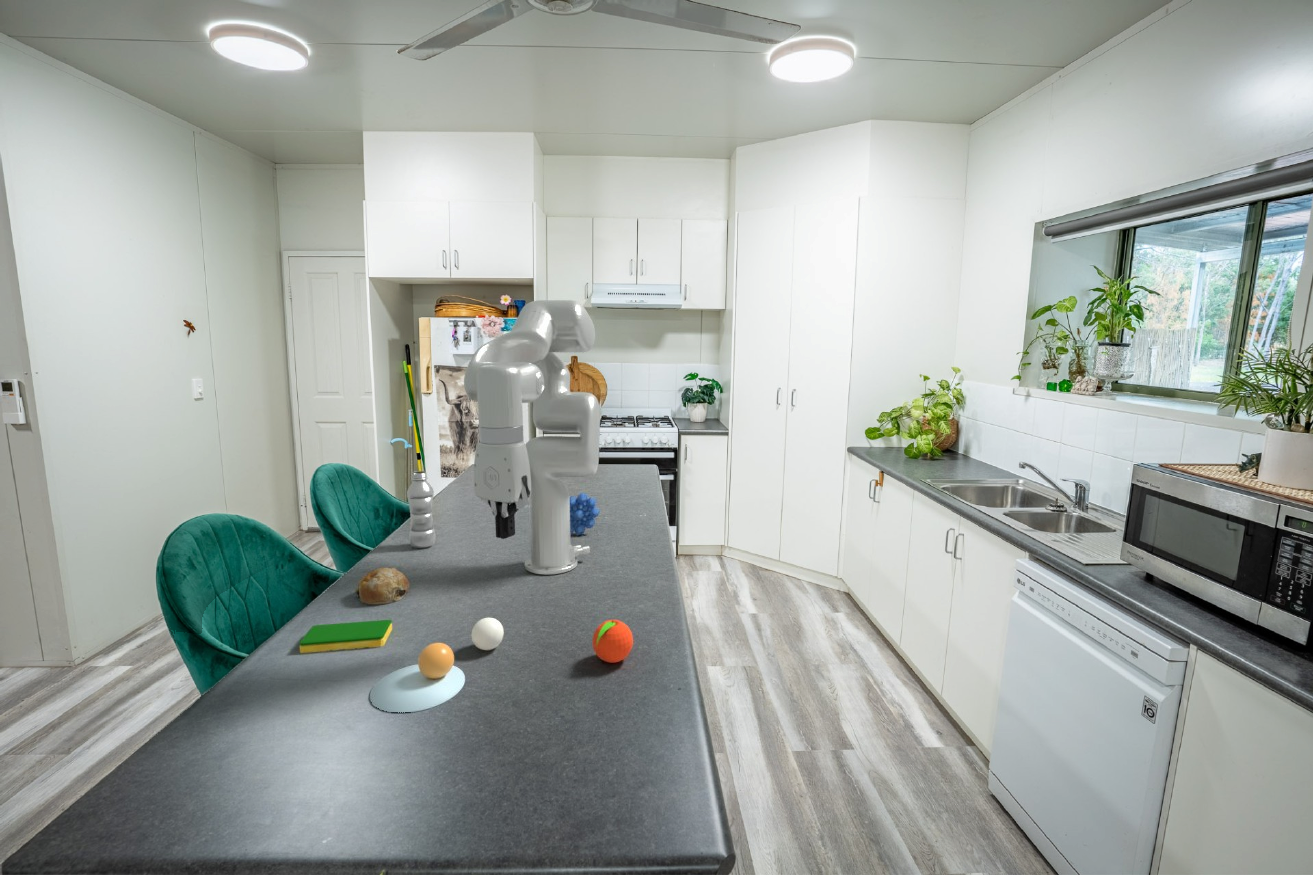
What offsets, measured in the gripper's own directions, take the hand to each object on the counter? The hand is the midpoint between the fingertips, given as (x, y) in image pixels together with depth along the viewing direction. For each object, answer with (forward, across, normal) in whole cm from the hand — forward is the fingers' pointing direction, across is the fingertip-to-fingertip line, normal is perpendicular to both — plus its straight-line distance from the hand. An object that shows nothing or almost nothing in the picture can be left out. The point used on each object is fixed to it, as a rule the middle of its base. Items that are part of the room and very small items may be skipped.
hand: (505, 536), depth 112 cm
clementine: (+19, +22, +2) cm, 29 cm away
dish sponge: (+20, -24, -17) cm, 35 cm away
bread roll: (+20, -36, -1) cm, 41 cm away
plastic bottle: (+19, -56, +25) cm, 64 cm away
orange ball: (+16, 0, -16) cm, 23 cm away
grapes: (+19, -27, +54) cm, 64 cm away
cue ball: (+16, 0, -6) cm, 17 cm away
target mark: (+19, 0, -20) cm, 28 cm away
